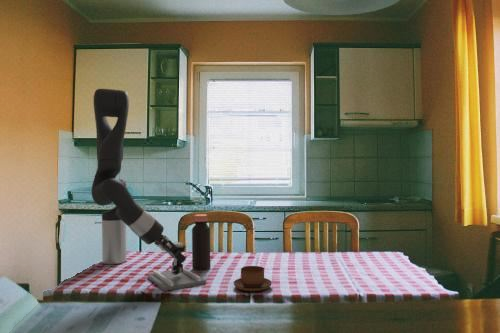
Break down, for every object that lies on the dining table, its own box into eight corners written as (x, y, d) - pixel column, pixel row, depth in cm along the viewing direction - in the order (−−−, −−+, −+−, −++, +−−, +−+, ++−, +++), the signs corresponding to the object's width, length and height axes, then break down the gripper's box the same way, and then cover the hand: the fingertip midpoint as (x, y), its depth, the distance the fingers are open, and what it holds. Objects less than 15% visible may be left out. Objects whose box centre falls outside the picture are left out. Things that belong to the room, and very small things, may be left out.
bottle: (188, 269, 146) (188, 215, 146) (198, 265, 152) (197, 213, 152) (205, 271, 143) (204, 216, 143) (213, 266, 150) (213, 214, 150)
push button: (179, 276, 128) (180, 246, 128) (164, 275, 129) (165, 244, 129) (187, 271, 134) (188, 242, 134) (172, 270, 135) (173, 241, 135)
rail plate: (147, 278, 135) (147, 271, 135) (185, 271, 143) (185, 265, 143) (165, 291, 121) (164, 283, 121) (206, 283, 128) (206, 276, 128)
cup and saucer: (228, 285, 127) (228, 266, 127) (261, 280, 132) (261, 262, 132) (242, 296, 116) (242, 276, 116) (278, 291, 121) (278, 271, 121)
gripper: (161, 220, 122) (197, 254, 128) (146, 215, 134) (180, 246, 140) (144, 239, 119) (181, 273, 125) (131, 232, 131) (166, 263, 138)
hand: (180, 259), depth 133 cm, fingers closed on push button, 4 cm apart
